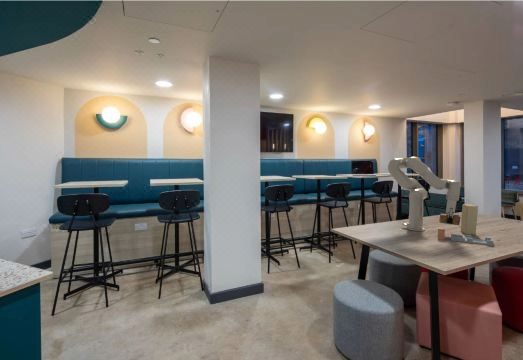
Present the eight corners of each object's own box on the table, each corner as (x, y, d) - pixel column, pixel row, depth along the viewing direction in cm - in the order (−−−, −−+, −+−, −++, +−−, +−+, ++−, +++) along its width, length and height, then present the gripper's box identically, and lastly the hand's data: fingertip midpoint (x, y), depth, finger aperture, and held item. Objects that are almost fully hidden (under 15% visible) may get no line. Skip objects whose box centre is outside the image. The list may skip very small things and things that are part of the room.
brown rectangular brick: (437, 238, 193) (438, 228, 193) (437, 237, 196) (438, 227, 196) (444, 239, 191) (444, 229, 190) (444, 238, 194) (445, 228, 194)
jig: (451, 240, 189) (451, 235, 189) (450, 237, 196) (451, 232, 196) (494, 246, 177) (494, 241, 176) (492, 242, 184) (492, 237, 184)
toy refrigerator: (477, 234, 202) (479, 206, 201) (465, 234, 204) (467, 205, 202) (471, 231, 210) (473, 204, 208) (460, 231, 211) (462, 204, 210)
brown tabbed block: (440, 222, 202) (441, 213, 201) (439, 221, 206) (440, 212, 205) (459, 225, 197) (460, 215, 196) (457, 223, 202) (459, 214, 201)
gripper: (446, 195, 208) (443, 219, 211) (446, 198, 194) (443, 223, 196) (458, 196, 204) (455, 220, 207) (459, 200, 190) (456, 225, 192)
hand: (449, 222), depth 201 cm, fingers closed on brown tabbed block, 5 cm apart
